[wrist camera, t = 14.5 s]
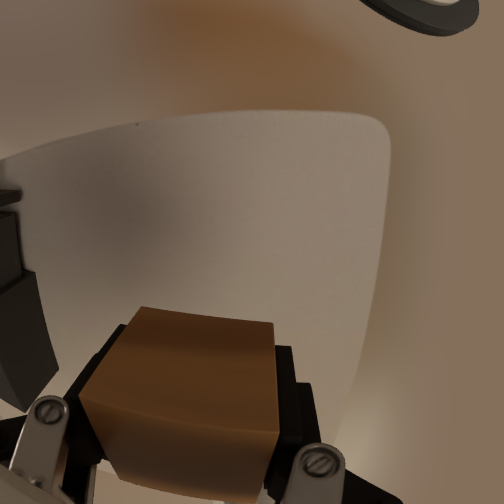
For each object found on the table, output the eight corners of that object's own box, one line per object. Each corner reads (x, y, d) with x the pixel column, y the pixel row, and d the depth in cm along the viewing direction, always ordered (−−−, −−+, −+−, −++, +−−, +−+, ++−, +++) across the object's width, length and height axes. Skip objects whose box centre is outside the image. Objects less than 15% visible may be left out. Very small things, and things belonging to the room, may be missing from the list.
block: (141, 305, 9) (77, 395, 5) (273, 321, 9) (280, 433, 5) (152, 395, 11) (119, 479, 6) (258, 410, 11) (256, 504, 6)
